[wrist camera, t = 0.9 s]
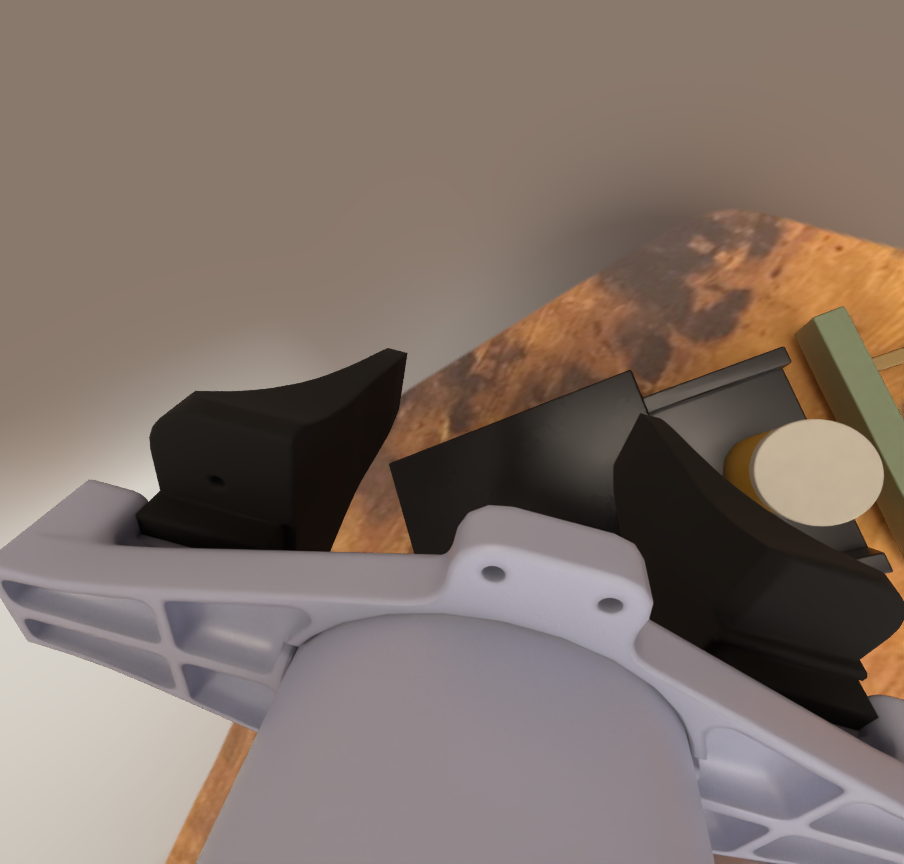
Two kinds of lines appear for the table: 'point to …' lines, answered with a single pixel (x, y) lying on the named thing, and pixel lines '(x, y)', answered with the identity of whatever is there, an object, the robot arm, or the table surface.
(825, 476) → the pill bottle
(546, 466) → the cabinet
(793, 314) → the table surface
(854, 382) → the drawer
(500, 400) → the table surface
